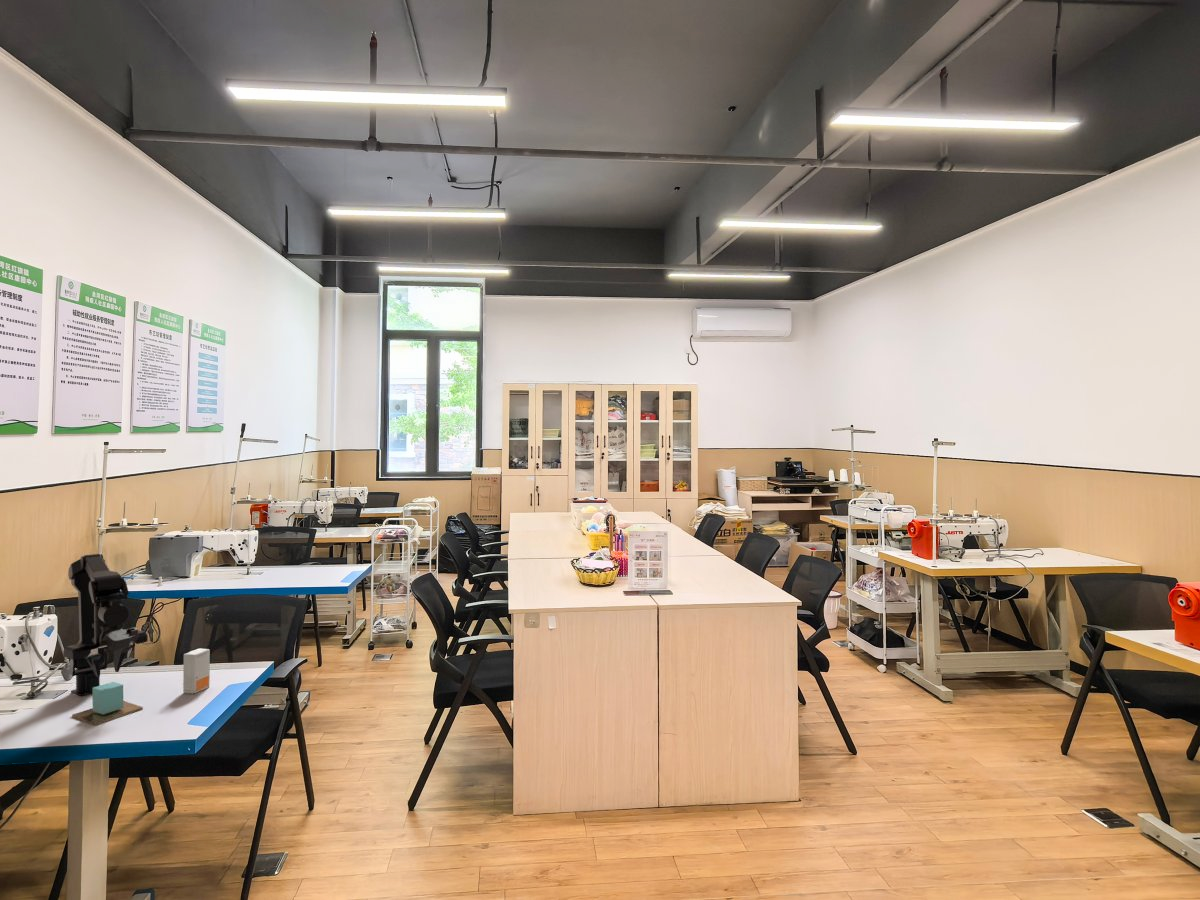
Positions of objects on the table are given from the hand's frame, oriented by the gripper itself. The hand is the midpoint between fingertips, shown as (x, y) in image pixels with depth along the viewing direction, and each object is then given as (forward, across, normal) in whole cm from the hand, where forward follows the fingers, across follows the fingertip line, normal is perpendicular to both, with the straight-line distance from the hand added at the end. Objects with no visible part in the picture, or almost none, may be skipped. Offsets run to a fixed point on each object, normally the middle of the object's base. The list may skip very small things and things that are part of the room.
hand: (107, 674), depth 184 cm
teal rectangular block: (+10, 0, 0) cm, 10 cm away
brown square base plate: (+11, 0, 0) cm, 11 cm away
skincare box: (+11, +22, -5) cm, 25 cm away
